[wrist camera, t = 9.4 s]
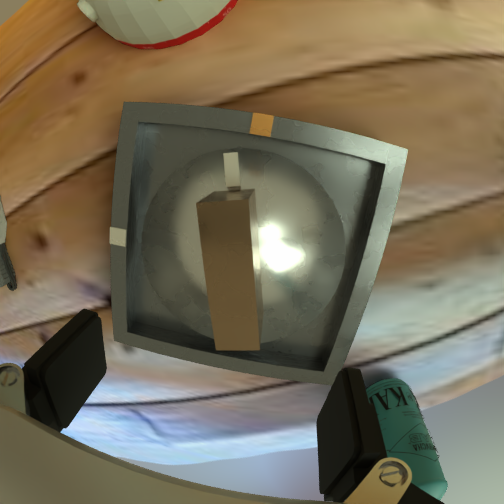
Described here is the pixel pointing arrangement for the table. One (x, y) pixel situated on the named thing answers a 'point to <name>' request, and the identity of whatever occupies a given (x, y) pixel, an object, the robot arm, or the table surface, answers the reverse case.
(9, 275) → the walkie-talkie
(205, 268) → the dial
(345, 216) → the dial housing
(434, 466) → the beverage bottle
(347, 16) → the table surface
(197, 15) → the kitchen timer
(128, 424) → the table surface
